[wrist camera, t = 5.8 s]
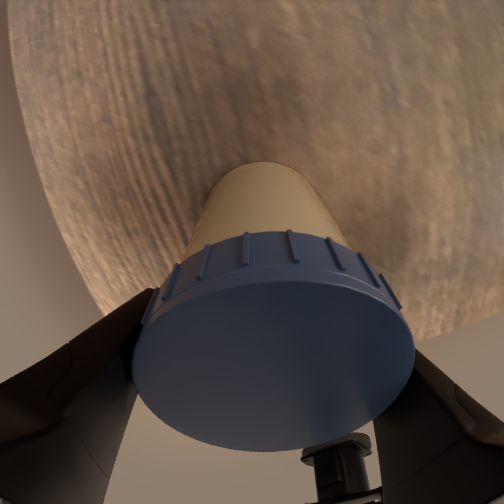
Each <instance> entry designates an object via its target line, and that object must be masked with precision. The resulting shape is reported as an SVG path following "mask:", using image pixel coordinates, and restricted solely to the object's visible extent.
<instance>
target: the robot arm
mask: <svg viewBox="0 0 504 504" xmlns="http://www.w3.org/2000/svg"><path fill="white" fill-rule="evenodd" d="M154 291H155V289H152V288H147V289H145V290H144V291H142V292H141V293H139V294H138V295H136V296H135V297H133V298H132V299H130V300H129V301H127V302H126V303H124V304H123V305H121V306H120V307H118V308H117V309H115V310H114V311H113V312H111V313H110V314H108V315H107V316H105V317H104V318H102V319H101V320H100V321H98V322H96V323H95V324H94V325H92V326H91V327H89V328H88V329H86V330H85V331H83V332H82V333H81V334H79V335H78V336H76V337H75V338H74V339H72V340H71V341H69V344H68V343H66V344H65V345H63V346H62V347H60V348H59V349H58V350H56V351H55V352H53V353H52V354H50V355H49V356H47V357H46V358H44V359H43V360H41V361H39V362H37V363H36V364H34V365H32V366H31V367H29V368H27V369H26V370H24V371H22V372H20V373H18V374H16V375H15V376H13V377H11V378H9V379H8V380H6V381H4V382H3V383H1V384H0V504H103V502H104V498H105V494H106V491H107V487H108V484H109V479H110V476H111V473H112V470H113V467H114V464H115V460H116V457H117V454H118V451H119V448H120V445H121V442H122V438H123V435H124V432H125V429H126V426H127V423H128V420H129V417H130V414H131V411H132V409H133V406H134V403H135V400H136V397H137V394H138V392H137V390H136V388H135V385H134V381H133V377H132V368H131V362H132V356H133V351H134V346H135V344H136V343H137V341H138V338H139V335H140V333H141V330H142V328H143V325H142V324H141V321H142V319H143V316H144V314H145V312H146V309H147V307H148V305H149V302H150V300H151V298H152V296H153V293H154ZM373 424H374V431H375V437H376V443H377V450H378V458H379V465H380V473H381V481H382V486H381V487H378V488H376V489H372V490H370V487H369V482H368V477H367V472H366V467H365V462H364V458H363V457H366V456H368V455H370V454H372V451H371V450H370V449H369V448H367V447H365V446H363V445H362V444H360V443H358V442H357V441H355V440H347V441H345V442H342V443H340V444H337V445H335V446H332V447H329V448H327V449H324V450H321V451H318V452H315V453H312V454H309V455H306V456H303V457H301V462H303V463H306V464H309V465H311V466H314V472H315V481H316V489H317V498H318V502H316V503H310V504H362V503H363V504H504V422H502V421H501V420H500V419H498V418H497V417H496V416H494V415H493V414H492V413H491V412H489V411H488V410H487V409H486V408H484V407H483V406H482V405H480V404H479V403H478V402H477V401H475V400H474V399H473V398H472V397H471V396H469V395H468V394H467V393H466V392H465V391H463V390H462V389H461V388H460V387H459V386H458V385H457V384H456V383H455V384H454V382H453V381H452V380H451V379H450V378H449V377H448V376H447V375H446V374H444V373H443V372H442V371H441V370H440V369H438V367H436V366H435V365H434V364H433V363H432V362H431V361H430V360H428V359H427V358H426V357H425V356H424V355H423V354H422V353H420V352H419V351H418V350H417V349H416V348H415V360H414V365H413V369H412V372H411V375H410V377H409V380H408V381H407V383H406V385H405V387H404V388H403V390H402V391H401V393H400V394H399V395H398V397H397V398H396V399H395V400H394V401H393V402H392V403H391V405H390V406H389V407H388V408H387V409H385V410H384V411H383V412H382V413H381V414H379V415H378V416H377V417H376V418H374V419H373ZM376 499H378V502H376V503H375V501H373V500H376ZM369 501H371V502H369ZM365 502H367V503H365ZM306 504H308V503H306Z"/></svg>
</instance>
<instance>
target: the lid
mask: <svg viewBox="0 0 504 504" xmlns="http://www.w3.org/2000/svg"><path fill="white" fill-rule="evenodd" d="M401 308H402V306H401V305H400V303H399V301H398V300H397V298H396V296H395V295H394V293H393V291H392V290H391V288H390V286H389V285H388V283H387V282H386V280H385V278H384V277H383V275H382V274H379V275H378V274H377V273H376V271H375V270H374V269H373V268H372V267H371V265H370V264H369V263H368V262H367V261H366V259H365V257H364V256H363V254H362V253H360V252H359V253H358V254H357V253H355V252H353V251H352V250H350V249H348V248H347V247H345V246H343V245H341V244H338V243H336V242H334V241H333V240H332V238H331V237H328V236H327V238H322V237H319V236H315V235H311V234H306V233H298V232H292V229H287V231H265V232H257V233H249V231H247V232H244V235H240V236H236V237H232V238H228V239H225V240H222V241H220V242H217V243H215V244H212V245H209V243H208V244H206V245H204V248H203V249H202V250H200V251H198V252H196V253H195V254H193V255H191V256H190V257H189V258H187V259H186V260H185V261H183V262H182V263H181V264H178V263H176V264H175V265H174V267H173V270H172V272H171V273H170V274H169V276H168V277H167V278H166V279H165V281H164V282H163V284H162V285H161V287H160V288H158V287H156V289H155V291H154V293H153V296H152V298H151V300H150V302H149V305H148V307H147V309H146V312H145V314H144V316H143V319H142V321H141V324H142V325H143V328H142V330H141V333H140V335H139V338H138V341H137V343H136V344H135V346H134V351H133V356H132V362H131V368H132V377H133V381H134V385H135V388H136V390H137V392H138V394H139V396H140V397H141V399H142V400H143V402H144V403H145V405H146V406H147V407H148V408H149V409H150V410H151V411H152V412H153V413H154V414H155V415H156V416H157V417H158V418H159V419H161V420H162V421H163V422H164V423H166V424H167V425H169V426H170V427H172V428H174V429H175V430H177V431H179V432H181V433H182V434H184V435H187V436H189V437H191V438H193V439H196V440H198V441H201V442H204V443H207V444H211V445H215V446H218V447H223V448H228V449H234V450H242V451H255V452H275V451H287V450H295V449H301V448H306V447H311V446H315V445H319V444H322V443H325V442H329V441H332V440H334V439H337V438H339V437H342V436H344V435H346V434H349V433H351V432H353V431H355V430H357V429H358V428H360V427H362V426H363V425H365V424H367V423H368V422H370V421H371V420H373V419H374V418H376V417H377V416H378V415H379V414H381V413H382V412H383V411H384V410H385V409H387V408H388V407H389V406H390V405H391V403H392V402H393V401H394V400H395V399H396V398H397V397H398V395H399V394H400V393H401V391H402V390H403V388H404V387H405V385H406V383H407V381H408V380H409V377H410V375H411V372H412V369H413V365H414V360H415V345H414V340H413V336H412V333H411V331H410V328H409V326H408V324H407V322H406V321H405V319H404V317H403V315H402V313H401V312H400V309H401Z"/></svg>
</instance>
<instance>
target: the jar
mask: <svg viewBox="0 0 504 504" xmlns="http://www.w3.org/2000/svg"><path fill="white" fill-rule="evenodd" d="M287 229H292V232H298V233H306V234H311V235H315V236H319V237H322V238H327V236H328V237H331V238H332V240H333V241H334V242H336V243H338V244H341V245H343V246H345V247H347V248H348V249H350V250H352V249H351V247H350V246H349V244H348V242H347V241H346V239H345V237H344V236H343V234H342V233H341V231H340V229H339V228H338V226H337V224H336V223H335V221H334V220H333V218H332V216H331V215H330V213H329V212H328V210H327V209H326V207H325V205H324V204H323V202H322V201H321V199H320V198H319V196H318V195H317V193H316V192H315V190H314V189H313V187H312V186H311V184H310V183H309V182H308V181H307V180H306V179H305V178H304V177H303V176H302V175H301V174H300V173H298V172H297V171H295V170H293V169H291V168H289V167H287V166H285V165H282V164H278V163H273V162H254V163H249V164H245V165H242V166H239V167H237V168H235V169H233V170H231V171H230V172H229V173H227V174H226V175H224V176H223V177H222V178H221V179H220V180H219V181H218V182H217V184H216V185H215V186H214V188H213V189H212V191H211V193H210V195H209V197H208V199H207V202H206V204H205V206H204V208H203V211H202V213H201V216H200V218H199V220H198V223H197V225H196V227H195V230H194V232H193V235H192V237H191V240H190V242H189V245H188V247H187V249H186V252H185V254H184V257H183V260H182V262H183V261H185V260H186V259H187V258H189V257H190V256H191V255H193V254H195V253H196V252H198V251H200V250H202V249H203V248H204V245H206V244H208V243H209V245H212V244H215V243H217V242H220V241H222V240H225V239H228V238H232V237H236V236H240V235H244V232H247V231H249V233H257V232H265V231H287ZM182 262H181V263H182Z"/></svg>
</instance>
